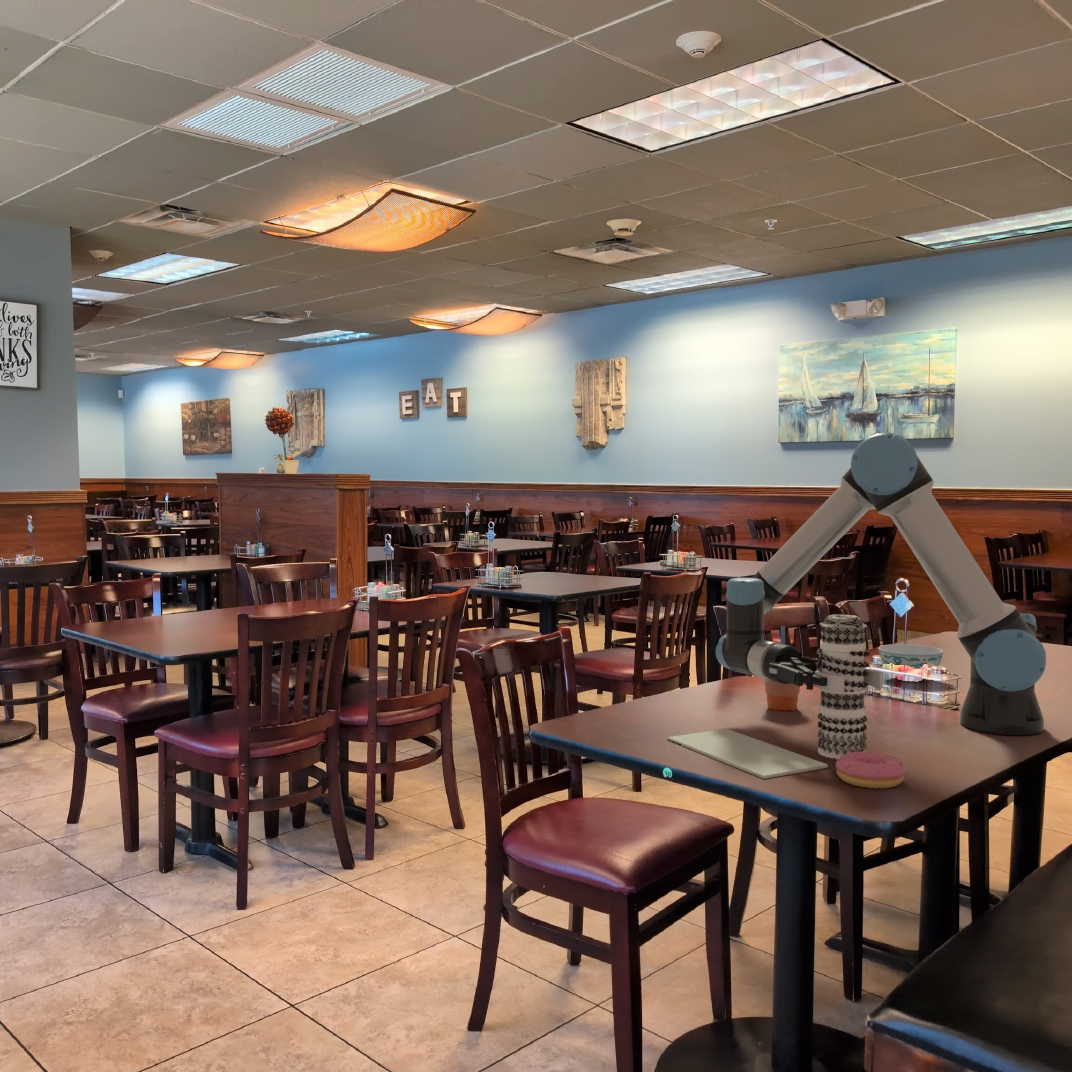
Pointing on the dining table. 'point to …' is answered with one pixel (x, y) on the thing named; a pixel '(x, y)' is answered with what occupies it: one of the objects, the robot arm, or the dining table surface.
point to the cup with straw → (782, 691)
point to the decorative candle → (847, 709)
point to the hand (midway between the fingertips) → (862, 682)
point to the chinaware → (910, 655)
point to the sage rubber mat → (748, 753)
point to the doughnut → (870, 769)
